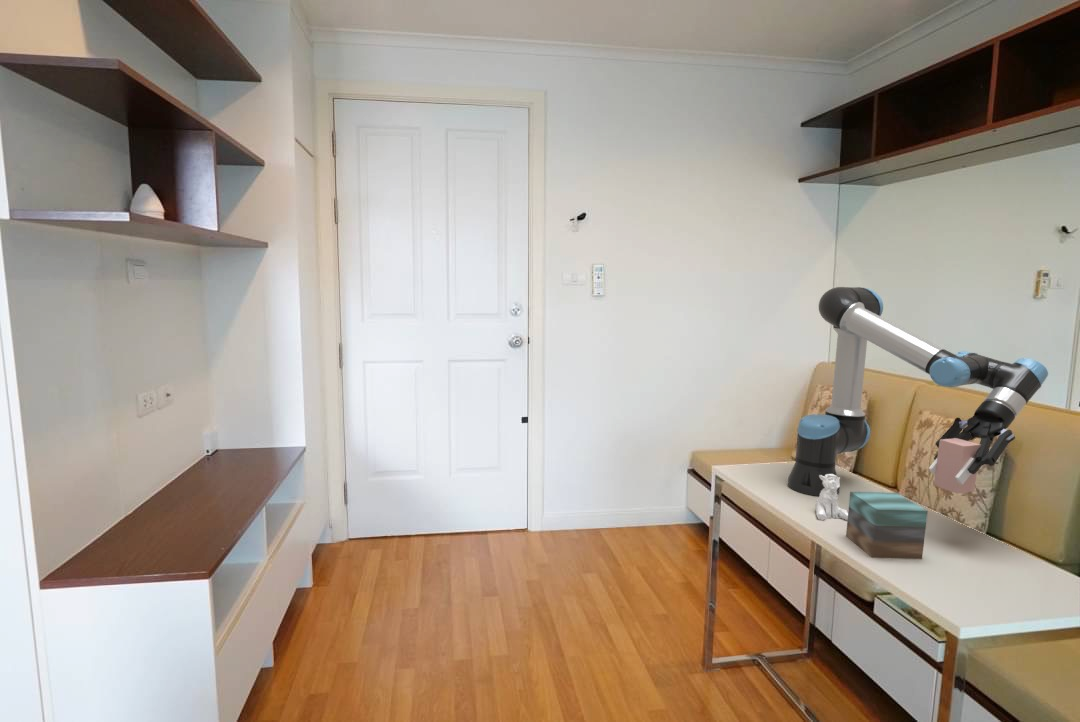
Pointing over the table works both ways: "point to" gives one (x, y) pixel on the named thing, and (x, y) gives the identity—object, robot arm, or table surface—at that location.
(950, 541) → the table surface
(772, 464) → the table surface
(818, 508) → the sitting furry creature
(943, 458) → the rose brick
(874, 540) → the teal topped wooden cube
